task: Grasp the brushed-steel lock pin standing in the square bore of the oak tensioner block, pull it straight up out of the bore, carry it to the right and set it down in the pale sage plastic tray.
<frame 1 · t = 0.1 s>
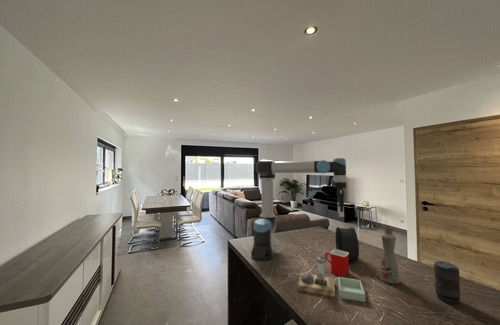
hand: (340, 214, 134), 28 cm above the countertop, fingers open, 13 cm apart
tensioner block: (316, 286, 100), on the countertop
camera lens: (447, 300, 90), on the countertop
lock pin: (321, 287, 100), resting in tensioner block
wheel rim: (346, 259, 131), on the countertop
mug: (336, 271, 116), on the countertop
tray: (350, 292, 95), on the countertop
bottle: (389, 281, 105), on the countertop
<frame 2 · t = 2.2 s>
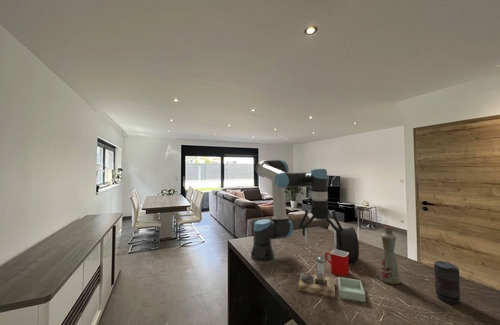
hand: (320, 243, 101), 21 cm above the countertop, fingers open, 13 cm apart
nothing on the countertop moved.
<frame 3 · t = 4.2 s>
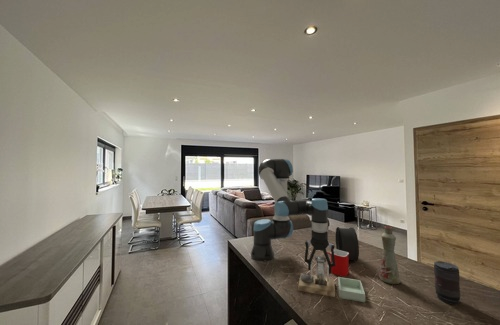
hand: (319, 278, 100), 4 cm above the countertop, fingers open, 7 cm apart
nothing on the countertop moved.
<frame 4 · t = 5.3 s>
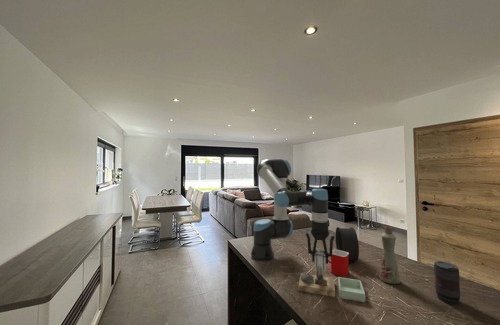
hand: (320, 269, 100), 9 cm above the countertop, fingers closed on lock pin, 4 cm apart
lock pin: (320, 280, 100), point 3 cm above the countertop, touching gripper
everything else where it was.
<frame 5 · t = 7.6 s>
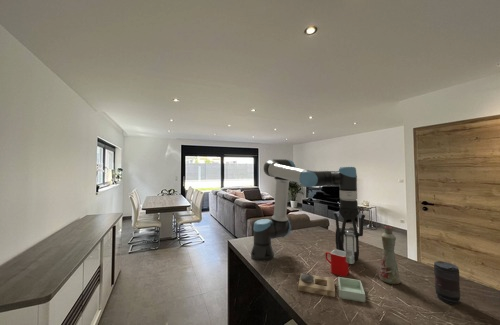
hand: (349, 250, 96), 19 cm above the countertop, fingers closed on lock pin, 4 cm apart
lock pin: (350, 262, 96), point 14 cm above the countertop, touching gripper
everything else where it was.
when the fingers open (6 cm above the countertop, at t = 10.1 s): lock pin stays where it is, resting on tray.
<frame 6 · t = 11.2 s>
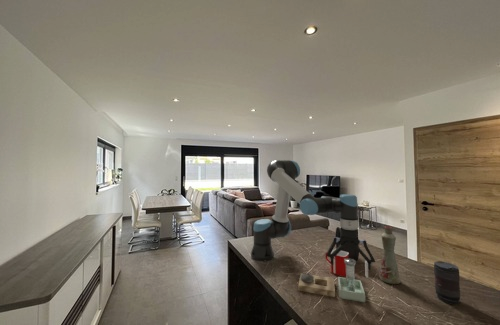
hand: (350, 274, 96), 8 cm above the countertop, fingers open, 13 cm apart
lock pin: (350, 291, 95), point 1 cm above the countertop, touching tray
everything else where it was.
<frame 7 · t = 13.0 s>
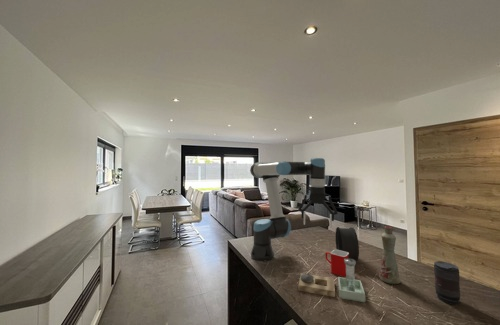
hand: (317, 225, 112), 27 cm above the countertop, fingers open, 13 cm apart
nothing on the countertop moved.
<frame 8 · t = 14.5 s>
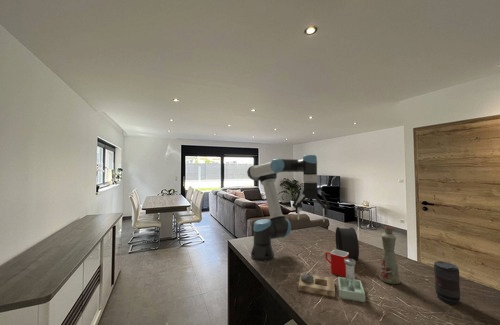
hand: (310, 220, 116), 29 cm above the countertop, fingers open, 13 cm apart
nothing on the countertop moved.
at the end: lock pin inside the target area on the tray (0.0 cm from its centre), point 0.6 cm above the tray's base; the gripper is holding nothing; lock pin touching tray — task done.
